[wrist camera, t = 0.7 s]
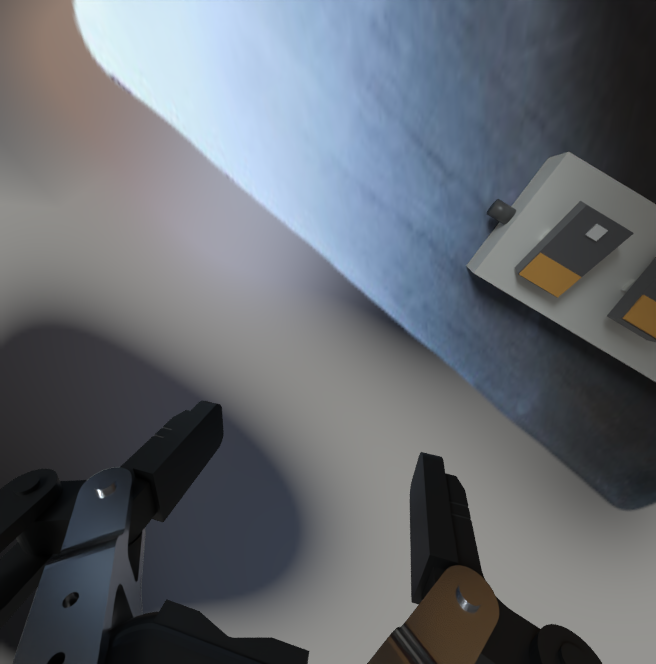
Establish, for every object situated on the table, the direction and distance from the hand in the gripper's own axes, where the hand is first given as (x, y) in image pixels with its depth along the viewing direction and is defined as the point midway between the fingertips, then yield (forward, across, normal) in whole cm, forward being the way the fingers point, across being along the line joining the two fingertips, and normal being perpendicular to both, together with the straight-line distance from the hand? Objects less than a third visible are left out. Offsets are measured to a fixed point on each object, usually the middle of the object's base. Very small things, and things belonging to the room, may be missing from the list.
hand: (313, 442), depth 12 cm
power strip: (+29, -25, -3) cm, 38 cm away
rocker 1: (+25, -17, -6) cm, 31 cm away
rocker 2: (+25, -25, -3) cm, 35 cm away
